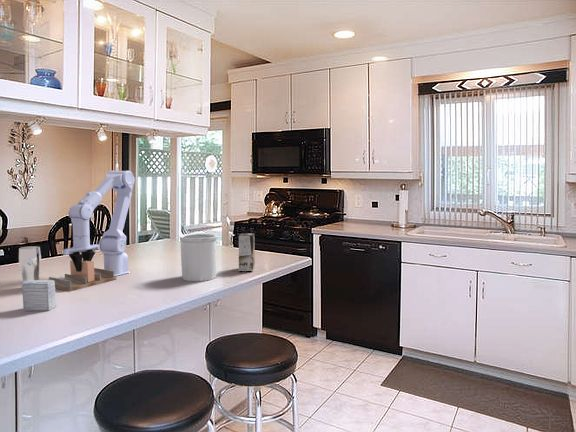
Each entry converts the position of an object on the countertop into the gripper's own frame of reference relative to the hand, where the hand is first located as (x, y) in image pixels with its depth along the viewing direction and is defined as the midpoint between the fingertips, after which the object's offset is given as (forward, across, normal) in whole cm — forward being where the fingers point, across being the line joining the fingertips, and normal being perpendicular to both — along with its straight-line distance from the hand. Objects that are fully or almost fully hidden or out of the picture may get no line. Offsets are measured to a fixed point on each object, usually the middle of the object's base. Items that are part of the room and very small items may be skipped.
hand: (82, 270), depth 166 cm
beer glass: (+5, +14, -10) cm, 18 cm away
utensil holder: (+5, -29, +33) cm, 44 cm away
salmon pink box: (+4, 0, 0) cm, 4 cm away
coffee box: (+5, -51, +42) cm, 66 cm away
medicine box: (+5, +28, +17) cm, 33 cm away
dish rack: (+5, 0, 0) cm, 5 cm away
